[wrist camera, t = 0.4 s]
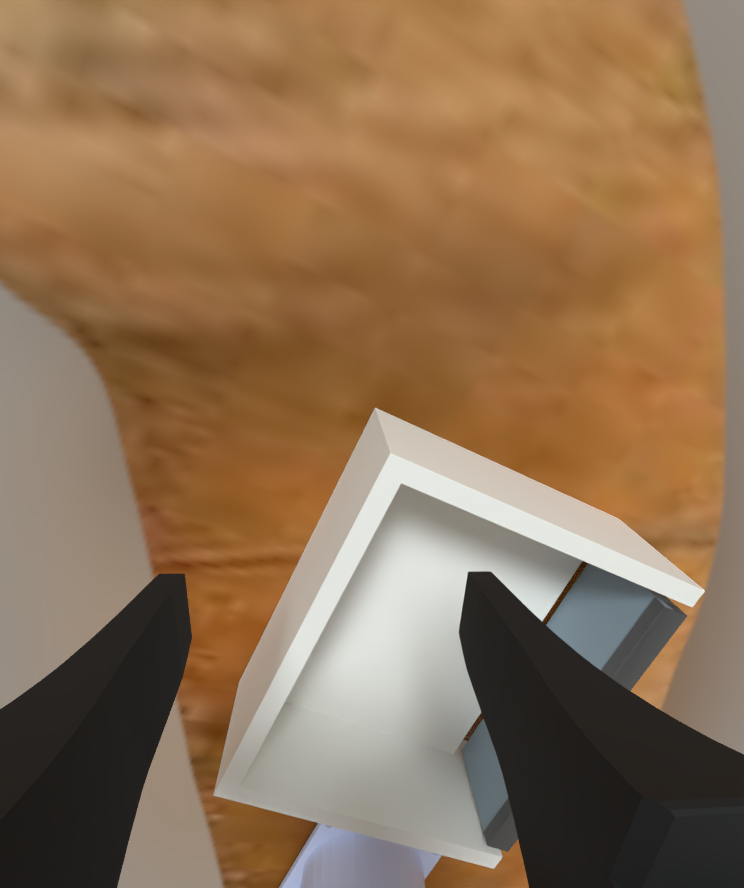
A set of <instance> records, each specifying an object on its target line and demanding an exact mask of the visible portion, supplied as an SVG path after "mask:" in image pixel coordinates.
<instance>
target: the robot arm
mask: <svg viewBox="0 0 744 888" xmlns="http://www.w3.org/2000/svg"><path fill="white" fill-rule="evenodd" d="M459 637H460V642H461V646H462V651H463V656H464V660H465V664H466V669H467V672H468V675H469V678H470V681H471V684H472V687H473V690H474V692H475V695H476V698H477V701H478V704H479V707H480V710H481V712H482V715H483V718H484V721H485V724H486V727H487V729H488V732H489V735H490V738H491V741H492V743H493V746H494V749H495V752H496V755H497V758H498V761H499V765H500V768H501V771H502V774H503V778H504V782H505V786H506V790H507V794H508V798H509V802H510V806H511V810H512V814H513V818H514V822H515V827H516V831H517V835H518V839H519V844H520V848H521V852H522V857H523V861H524V865H525V870H526V874H527V879H528V884H529V888H744V755H743V754H741V753H739V752H737V751H735V750H733V749H731V748H728V747H727V746H725V745H723V744H721V743H718V742H716V741H714V740H712V739H710V738H709V737H707V736H705V735H703V734H701V733H700V732H698V731H696V730H694V729H692V728H690V727H688V726H687V725H685V724H683V723H681V722H679V721H678V720H676V719H674V718H672V717H671V716H669V715H667V714H666V713H664V712H662V711H661V710H659V709H657V708H656V707H654V706H653V705H651V704H649V703H648V702H646V701H645V700H643V699H642V698H640V697H638V696H637V695H635V694H634V693H632V692H631V691H629V690H628V689H626V688H625V687H623V686H622V685H620V684H619V683H617V682H616V681H614V680H613V679H612V678H610V677H609V676H608V675H606V674H605V673H604V672H602V671H601V670H600V669H598V668H597V667H595V666H594V665H593V664H591V663H590V662H589V661H588V660H586V659H585V658H584V657H582V656H581V655H580V654H579V653H577V652H576V651H575V650H574V649H573V648H572V647H570V646H569V645H568V644H567V643H566V642H564V641H563V640H562V639H561V638H560V637H559V636H557V635H556V634H555V633H554V632H553V631H552V630H551V629H550V628H548V627H547V626H546V625H545V624H544V623H543V622H542V621H541V620H540V619H539V618H538V617H537V616H536V615H534V614H533V613H532V612H531V611H530V610H529V609H528V608H527V607H526V606H525V605H524V604H523V603H522V602H521V601H520V600H519V599H518V598H517V597H516V596H515V595H514V594H513V593H512V592H511V591H510V590H509V589H508V588H507V587H506V586H505V585H504V584H503V583H502V582H501V581H500V580H499V579H498V578H497V577H496V576H495V575H494V574H493V573H492V572H491V571H474V572H468V575H467V581H466V588H465V594H464V600H463V607H462V613H461V620H460V626H459ZM191 639H192V634H191V625H190V616H189V608H188V599H187V590H186V582H185V574H159V575H158V576H156V577H155V578H154V579H153V580H152V581H151V582H150V583H149V584H148V585H147V586H146V587H145V588H144V589H143V590H142V591H141V592H140V593H139V594H138V595H137V596H136V597H135V598H134V599H133V600H132V601H131V602H130V603H129V604H128V605H127V606H126V607H125V608H124V609H123V610H122V611H121V612H120V613H119V614H118V615H117V616H115V617H114V618H113V619H112V620H111V621H110V622H109V623H108V624H107V625H106V626H105V627H104V628H103V629H102V630H101V631H99V632H98V633H97V634H96V635H95V636H94V637H93V638H92V639H91V640H90V641H88V642H87V643H86V644H85V645H84V646H83V647H81V648H80V649H79V650H78V651H77V652H76V653H74V654H73V655H72V656H71V657H70V658H69V659H68V660H66V661H65V662H64V663H63V664H62V665H60V666H59V667H58V668H57V669H56V670H54V671H53V672H51V673H50V674H49V675H48V676H47V677H45V678H44V679H42V680H41V681H40V682H39V683H37V684H36V685H34V686H33V687H32V688H30V689H29V690H27V691H26V692H25V693H23V694H22V695H21V696H19V697H18V698H16V699H15V700H14V701H12V702H11V703H9V704H8V705H6V706H5V707H3V708H2V709H0V888H117V885H118V881H119V877H120V873H121V869H122V865H123V861H124V857H125V853H126V849H127V845H128V841H129V837H130V834H131V830H132V826H133V822H134V819H135V815H136V811H137V808H138V803H139V800H140V796H141V793H142V789H143V786H144V783H145V780H146V777H147V774H148V771H149V768H150V765H151V762H152V759H153V757H154V754H155V752H156V748H157V746H158V743H159V741H160V738H161V735H162V732H163V729H164V727H165V724H166V722H167V719H168V716H169V713H170V711H171V708H172V705H173V702H174V700H175V697H176V694H177V691H178V689H179V686H180V683H181V680H182V677H183V673H184V669H185V665H186V661H187V657H188V652H189V648H190V643H191ZM441 856H442V855H439V854H435V853H432V852H428V851H424V850H420V849H416V848H412V847H409V846H405V845H401V844H397V843H393V842H389V841H386V840H382V839H378V838H374V837H370V836H366V835H363V834H359V833H355V832H351V831H347V830H344V829H340V828H336V827H332V826H328V825H324V824H321V823H318V824H317V825H316V827H315V829H314V830H313V832H312V833H311V835H310V837H309V838H308V840H307V842H306V843H305V845H304V847H303V848H302V850H301V852H300V853H299V855H298V857H297V858H296V860H295V862H294V863H293V865H292V867H291V868H290V870H289V872H288V873H287V875H286V876H285V878H284V880H283V881H282V883H281V885H280V886H279V888H426V887H425V881H424V880H425V879H426V877H427V876H428V874H429V873H430V872H431V870H432V869H433V867H434V866H435V865H436V863H437V862H438V860H439V859H440V857H441Z"/></svg>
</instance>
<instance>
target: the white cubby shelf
mask: <svg viewBox="0 0 744 888" xmlns="http://www.w3.org/2000/svg"><path fill="white" fill-rule="evenodd" d="M582 561H585V562H587V563H589V564H592V565H594V566H596V567H599V568H601V569H603V570H606V571H608V572H610V573H613V574H615V575H617V576H620V577H622V578H625V579H627V580H629V581H632V582H634V583H636V584H639V585H641V586H643V587H646V588H648V589H650V590H653V591H655V592H657V593H660V594H662V595H664V596H667V597H669V598H671V599H674V600H676V601H678V602H681V603H683V604H685V605H688V606H690V607H693V606H694V605H695V603H696V602H697V601H698V599H699V598H700V597H701V595H702V594H703V593H704V591H705V590H704V589H702V588H701V587H700V586H699V585H698V584H696V583H695V582H694V581H693V580H692V579H690V578H689V577H688V576H687V575H686V574H684V573H683V572H682V571H681V570H680V569H678V568H677V567H676V566H675V565H674V564H672V563H671V562H670V561H669V560H668V559H666V558H665V557H664V556H663V555H662V554H660V553H659V552H658V551H657V550H656V549H654V548H653V547H652V546H651V545H650V544H648V543H647V542H646V541H645V540H644V539H642V538H641V537H640V536H639V535H638V534H636V533H635V532H634V531H633V530H632V529H630V528H629V527H628V526H627V525H626V524H625V523H623V522H622V521H621V520H620V519H619V518H616V517H614V516H612V515H610V514H608V513H605V512H603V511H601V510H599V509H597V508H594V507H592V506H590V505H588V504H586V503H583V502H581V501H579V500H577V499H575V498H572V497H570V496H568V495H566V494H564V493H561V492H559V491H557V490H555V489H553V488H550V487H548V486H546V485H544V484H542V483H540V482H537V481H535V480H533V479H531V478H529V477H526V476H524V475H522V474H520V473H518V472H515V471H513V470H511V469H509V468H507V467H504V466H502V465H500V464H498V463H496V462H493V461H491V460H489V459H487V458H485V457H482V456H480V455H478V454H476V453H474V452H471V451H469V450H467V449H465V448H463V447H460V446H458V445H456V444H454V443H452V442H450V441H447V440H445V439H443V438H441V437H439V436H436V435H434V434H432V433H430V432H428V431H425V430H423V429H421V428H419V427H417V426H414V425H412V424H410V423H408V422H406V421H403V420H401V419H399V418H397V417H395V416H392V415H390V414H388V413H386V412H384V411H381V410H379V409H377V408H375V409H374V411H373V413H372V415H371V417H370V419H369V421H368V423H367V425H366V427H365V429H364V431H363V433H362V435H361V437H360V439H359V441H358V443H357V445H356V447H355V449H354V451H353V453H352V455H351V457H350V459H349V461H348V463H347V465H346V467H345V469H344V471H343V473H342V475H341V477H340V479H339V481H338V483H337V485H336V487H335V489H334V491H333V493H332V495H331V497H330V499H329V501H328V503H327V506H326V508H325V510H324V512H323V514H322V516H321V518H320V520H319V522H318V524H317V526H316V528H315V530H314V532H313V534H312V536H311V538H310V540H309V542H308V544H307V546H306V548H305V550H304V552H303V554H302V556H301V558H300V560H299V562H298V564H297V566H296V568H295V570H294V572H293V574H292V576H291V578H290V580H289V582H288V584H287V586H286V588H285V590H284V592H283V594H282V596H281V598H280V600H279V602H278V604H277V606H276V609H275V611H274V613H273V615H272V617H271V619H270V621H269V623H268V625H267V627H266V629H265V631H264V633H263V635H262V637H261V639H260V641H259V643H258V645H257V647H256V649H255V651H254V653H253V655H252V657H251V659H250V661H249V663H248V665H247V667H246V669H245V671H244V673H243V675H242V677H241V679H240V681H239V685H238V689H237V694H236V698H235V702H234V707H233V711H232V716H231V720H230V724H229V729H228V733H227V738H226V742H225V746H224V751H223V755H222V760H221V764H220V768H219V773H218V777H217V781H216V786H215V790H214V795H213V796H217V797H221V798H225V799H229V800H233V801H236V802H240V803H244V804H248V805H252V806H255V807H259V808H263V809H267V810H271V811H275V812H278V813H282V814H286V815H290V816H294V817H298V818H301V819H305V820H309V821H313V822H317V823H321V824H324V825H328V826H332V827H336V828H340V829H344V830H347V831H351V832H355V833H359V834H363V835H366V836H370V837H374V838H378V839H382V840H386V841H389V842H393V843H397V844H401V845H405V846H409V847H412V848H416V849H420V850H424V851H428V852H432V853H435V854H439V855H443V856H447V857H451V858H454V859H458V860H462V861H466V862H470V863H474V864H477V865H481V866H485V867H489V868H493V869H494V868H495V867H496V865H497V864H498V863H499V861H500V860H501V859H502V853H501V850H500V849H497V848H493V847H489V846H487V843H486V840H485V836H484V829H483V826H482V822H481V819H480V815H479V811H478V808H477V804H476V800H475V797H474V793H473V790H472V786H471V782H470V779H469V775H468V772H467V768H466V764H465V761H464V757H463V753H462V749H463V748H464V746H465V745H466V743H467V742H468V741H466V740H463V739H464V737H465V736H466V734H467V733H468V731H469V730H470V728H471V727H472V725H473V724H474V722H475V721H476V719H477V718H478V716H479V715H480V713H481V710H480V707H479V704H478V701H477V698H476V695H475V692H474V690H473V687H472V684H471V681H470V678H469V675H468V672H467V669H466V664H465V660H464V656H463V651H462V646H461V642H460V637H459V626H460V620H461V613H462V607H463V600H464V594H465V588H466V581H467V575H468V572H474V571H491V572H492V573H493V574H494V575H495V576H496V577H497V578H498V579H499V580H500V581H501V582H502V583H503V584H504V585H505V586H506V587H507V588H508V589H509V590H510V591H511V592H512V593H513V594H514V595H515V596H516V597H517V598H518V599H519V600H520V601H521V602H522V603H523V604H524V605H525V606H526V607H527V608H528V609H529V610H530V611H531V612H532V613H533V614H534V615H536V616H537V617H538V618H539V619H540V620H541V621H543V619H544V618H545V616H546V615H547V613H548V612H549V610H550V609H551V608H552V606H553V605H554V603H555V602H556V600H557V599H558V597H559V596H560V594H561V593H562V591H563V590H564V588H565V587H566V585H567V584H568V582H569V581H570V579H571V578H572V576H573V575H574V573H575V572H576V570H577V569H578V567H579V566H580V564H581V563H582Z"/></svg>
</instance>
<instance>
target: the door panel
mask: <svg viewBox="0 0 744 888" xmlns="http://www.w3.org/2000/svg"><path fill="white" fill-rule="evenodd" d="M686 617H687V615H686V614H684V613H683V612H682V611H681V610H680V609H679V608H678V607H677V606H675V605H674V604H673V603H672V602H671V601H670V600H669V599H668V598H667V597H666V596H664V595H662V594H660V593H657V592H655V591H653V590H650V589H648V588H646V587H643V586H641V585H639V584H636V583H634V582H632V581H629V580H627V579H625V578H622V577H620V576H617V575H615V574H613V573H610V572H608V571H606V570H603V569H601V568H599V567H596V566H594V565H592V564H589V563H588V564H587V565H586V567H585V568H584V570H583V571H582V573H581V574H580V576H579V577H578V578H577V580H576V581H575V583H574V584H573V586H572V587H571V589H570V590H569V592H568V593H567V595H566V596H565V598H564V599H563V601H562V602H561V604H560V605H559V607H558V608H557V610H556V611H555V613H554V614H553V616H552V617H551V619H550V620H549V621H548V623H547V624H546V626H547V627H548V628H550V629H551V630H552V631H553V632H554V633H555V634H556V635H557V636H559V637H560V638H561V639H562V640H563V641H564V642H566V643H567V644H568V645H569V646H570V647H572V648H573V649H574V650H575V651H576V652H577V653H579V654H580V655H581V656H582V657H584V658H585V659H586V660H588V661H589V662H590V663H591V664H593V665H594V666H595V667H597V668H598V669H600V670H601V671H602V672H604V673H605V674H606V675H608V676H609V677H610V678H612V679H613V680H614V681H616V682H617V683H619V684H620V685H622V686H623V687H625V688H626V689H628V690H629V691H631V689H632V688H633V687H634V685H635V684H636V683H637V681H638V680H639V679H640V677H641V676H642V675H643V673H644V672H645V671H646V670H647V668H648V667H649V666H650V664H651V663H652V662H653V660H654V659H655V658H656V656H657V655H658V654H659V652H660V651H661V650H662V648H663V647H664V646H665V645H666V643H667V642H668V641H669V639H670V638H671V637H672V635H673V634H674V633H675V631H676V630H677V629H678V627H679V626H680V625H681V623H682V622H683V621H684V620H685V618H686ZM462 753H463V757H464V761H465V764H466V768H467V772H468V775H469V779H470V782H471V786H472V790H473V793H474V797H475V800H476V804H477V808H478V811H479V815H480V819H481V822H482V826H483V829H484V836H485V840H486V843H487V846H489V847H493V848H497V849H500V850H504V851H509V850H510V848H511V847H512V846H513V844H514V843H515V842H516V840H517V839H518V835H517V831H516V827H515V822H514V818H513V814H512V810H511V806H510V802H509V798H508V794H507V790H506V786H505V782H504V778H503V774H502V771H501V768H500V765H499V761H498V758H497V755H496V752H495V749H494V746H493V743H492V741H491V738H490V735H489V732H488V729H487V727H486V724H485V721H484V718H483V719H482V721H481V722H480V724H479V725H478V727H477V728H476V730H475V731H474V733H473V734H472V736H471V737H470V739H469V740H468V742H467V743H466V745H465V746H464V748H463V749H462Z"/></svg>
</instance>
